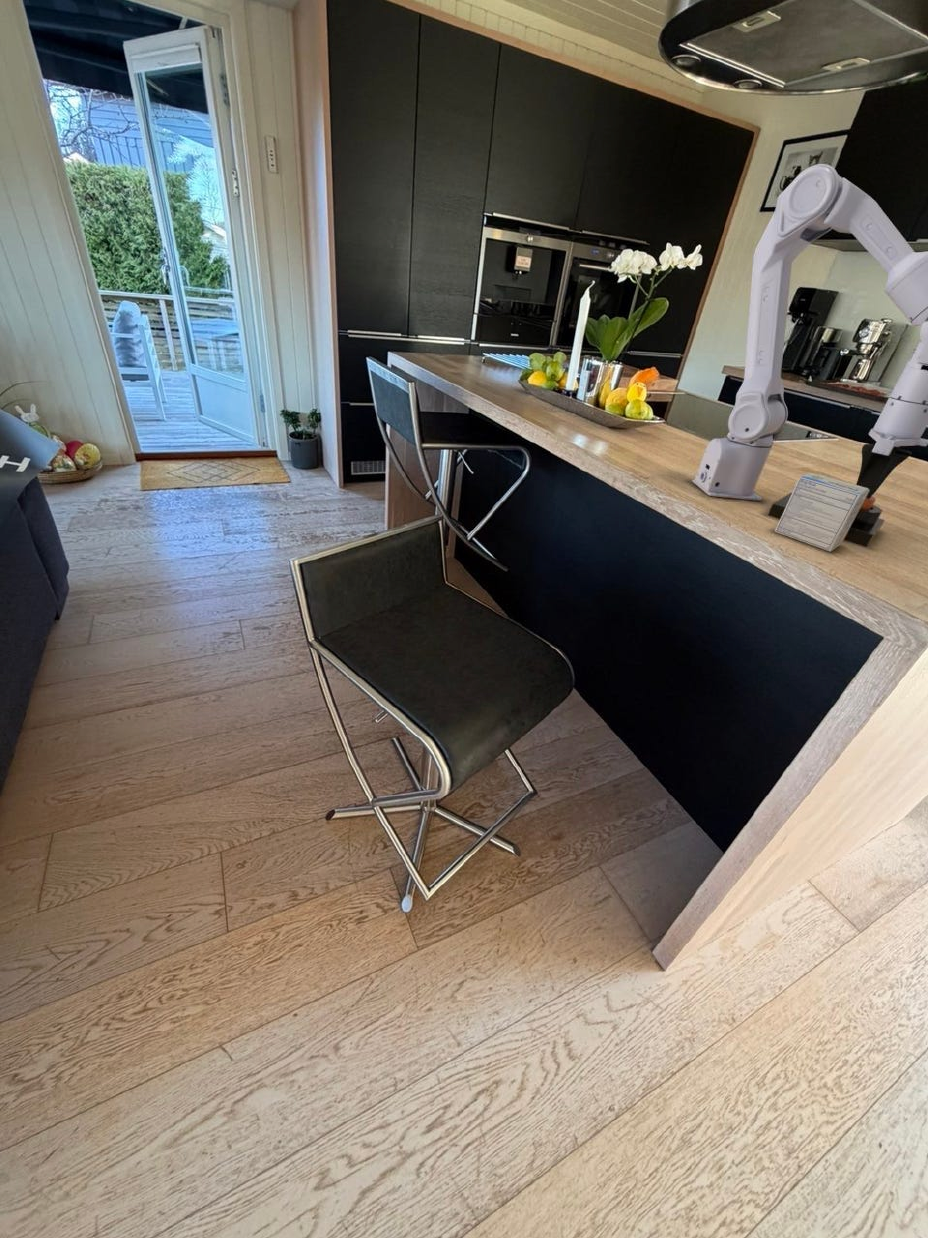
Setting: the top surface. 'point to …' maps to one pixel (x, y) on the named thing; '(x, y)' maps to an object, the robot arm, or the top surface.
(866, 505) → the button
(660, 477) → the top surface
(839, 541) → the medicine box
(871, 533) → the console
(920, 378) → the robot arm
